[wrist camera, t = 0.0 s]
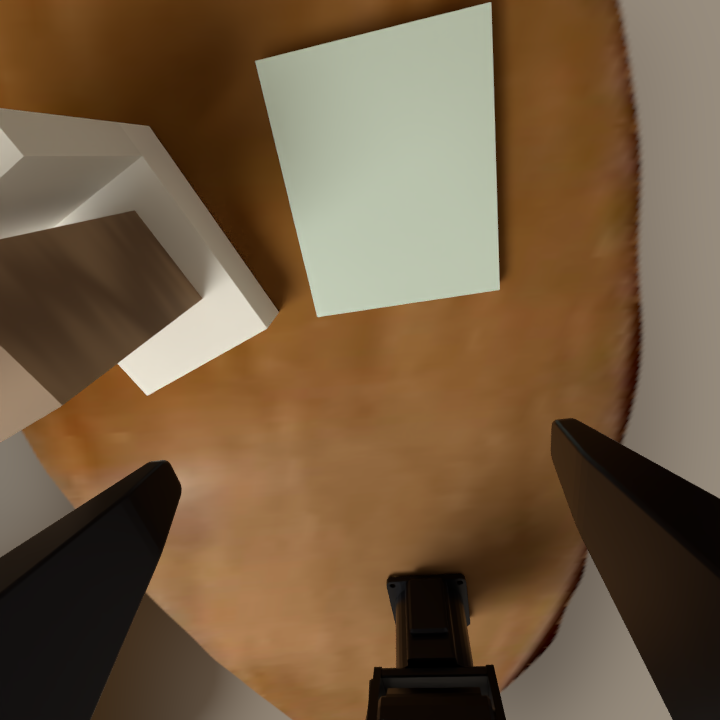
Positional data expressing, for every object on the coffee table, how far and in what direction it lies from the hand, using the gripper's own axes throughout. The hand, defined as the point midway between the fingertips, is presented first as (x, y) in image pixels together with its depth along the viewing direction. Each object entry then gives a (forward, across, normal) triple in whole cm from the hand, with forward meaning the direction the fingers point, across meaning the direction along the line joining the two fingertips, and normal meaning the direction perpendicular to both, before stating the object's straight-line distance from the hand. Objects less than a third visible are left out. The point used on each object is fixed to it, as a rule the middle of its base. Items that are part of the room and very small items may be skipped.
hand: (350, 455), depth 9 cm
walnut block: (+12, +12, -3) cm, 17 cm away
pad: (+15, -2, -5) cm, 15 cm away
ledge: (+15, +12, -3) cm, 19 cm away
